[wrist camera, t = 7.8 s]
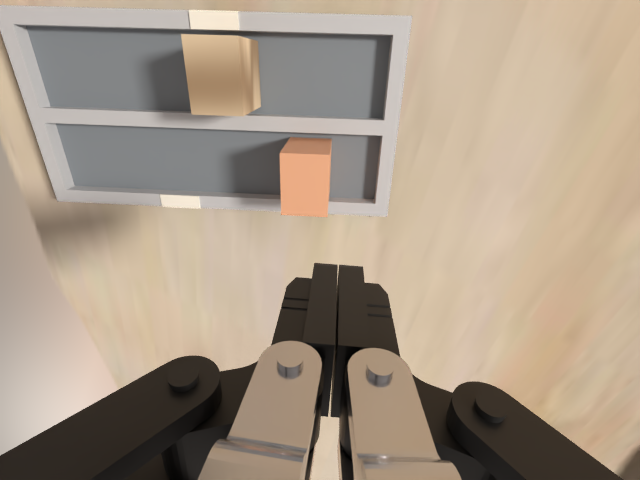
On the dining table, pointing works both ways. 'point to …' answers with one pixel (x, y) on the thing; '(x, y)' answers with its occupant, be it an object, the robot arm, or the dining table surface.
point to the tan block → (222, 74)
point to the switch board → (207, 130)
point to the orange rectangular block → (305, 176)
